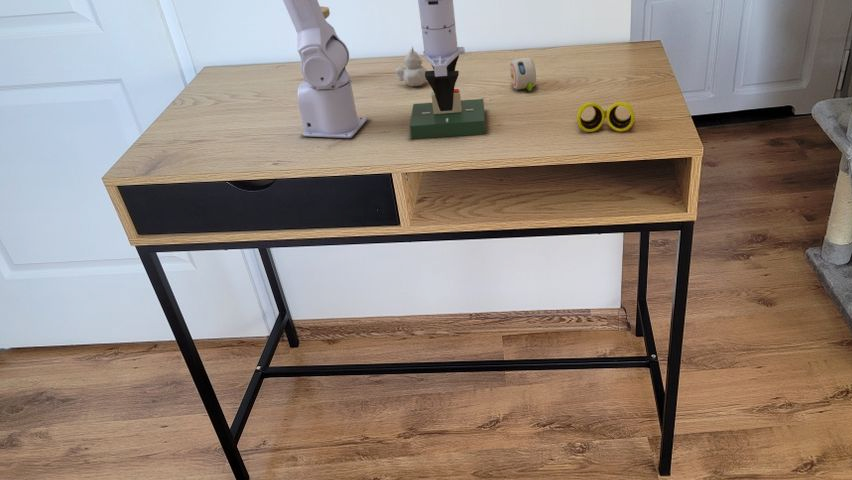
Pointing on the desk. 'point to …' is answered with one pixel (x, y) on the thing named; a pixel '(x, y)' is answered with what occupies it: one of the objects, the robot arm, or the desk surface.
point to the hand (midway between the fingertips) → (446, 101)
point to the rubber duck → (412, 70)
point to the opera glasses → (602, 114)
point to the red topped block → (456, 103)
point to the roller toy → (523, 73)
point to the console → (448, 120)
